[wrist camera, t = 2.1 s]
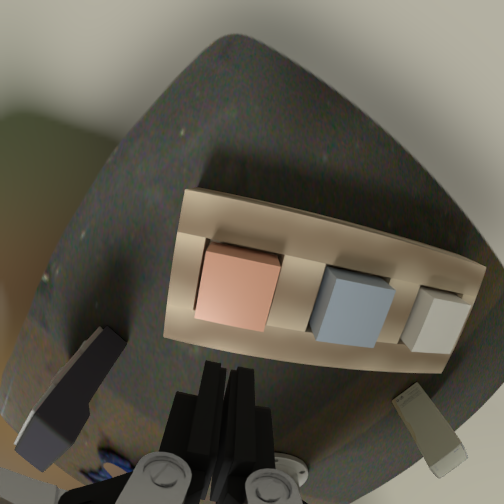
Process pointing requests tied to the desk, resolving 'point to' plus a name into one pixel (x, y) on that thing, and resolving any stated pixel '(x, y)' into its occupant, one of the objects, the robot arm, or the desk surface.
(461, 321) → the offwhite key
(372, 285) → the slate key
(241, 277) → the terracotta key
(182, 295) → the key console
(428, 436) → the skincare box
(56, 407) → the calculator
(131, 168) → the desk surface
